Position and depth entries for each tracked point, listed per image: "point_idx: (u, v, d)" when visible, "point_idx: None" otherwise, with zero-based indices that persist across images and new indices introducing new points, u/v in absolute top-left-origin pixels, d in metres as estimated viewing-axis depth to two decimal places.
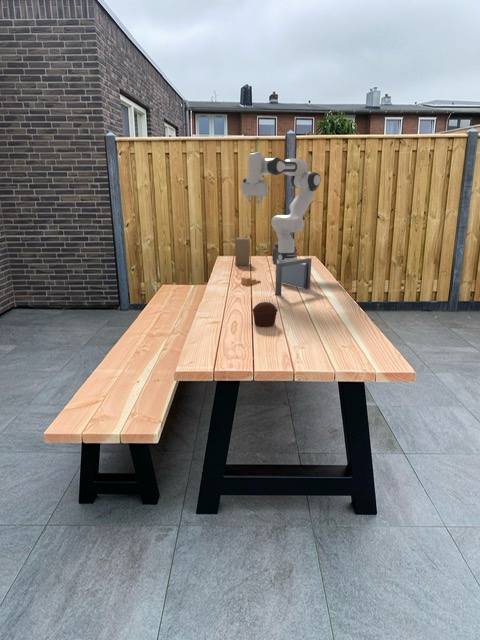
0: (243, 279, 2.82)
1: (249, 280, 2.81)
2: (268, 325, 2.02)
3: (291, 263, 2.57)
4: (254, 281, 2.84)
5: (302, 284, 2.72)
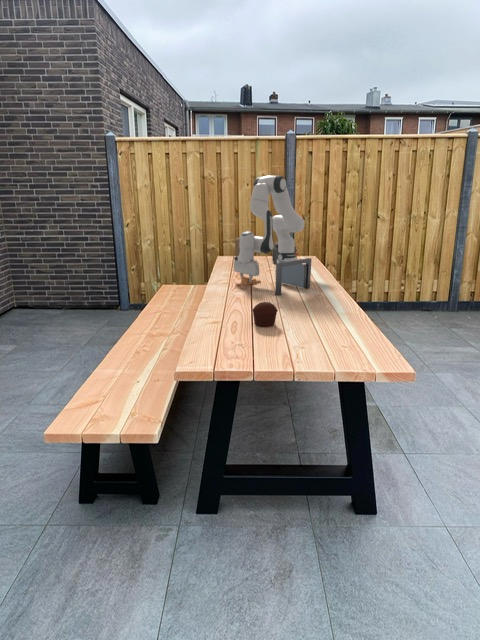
0: (243, 279, 2.82)
1: None
2: (268, 325, 2.02)
3: (291, 263, 2.57)
4: (254, 281, 2.84)
5: (302, 284, 2.72)
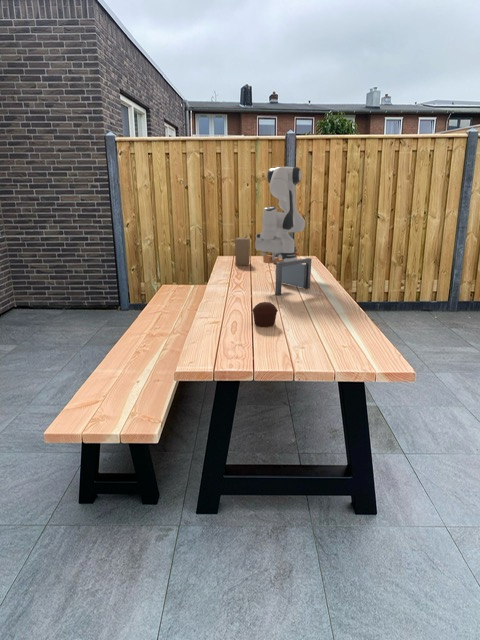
0: (265, 257, 2.68)
1: None
2: (268, 325, 2.02)
3: (291, 263, 2.57)
4: (277, 259, 2.70)
5: (302, 284, 2.72)
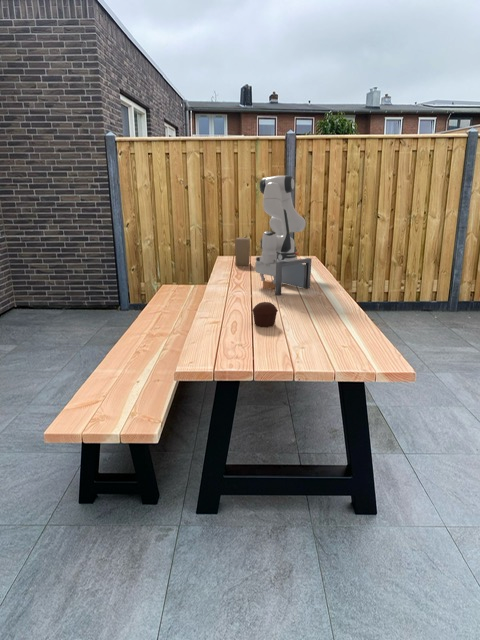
0: (265, 283, 2.72)
1: (271, 284, 2.72)
2: (268, 325, 2.02)
3: (291, 263, 2.57)
4: None
5: (302, 284, 2.72)
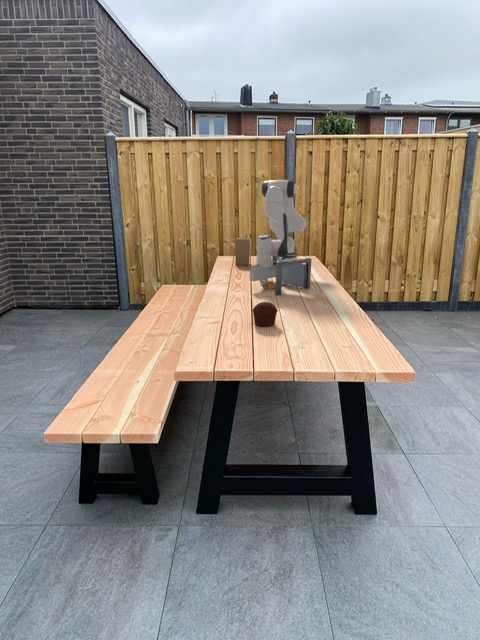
0: None
1: (271, 284, 2.72)
2: (268, 325, 2.02)
3: (291, 263, 2.57)
4: None
5: (302, 284, 2.72)
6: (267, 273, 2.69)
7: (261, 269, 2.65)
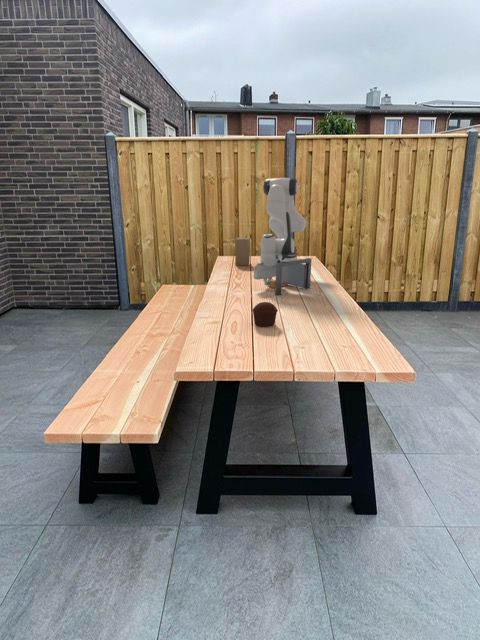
0: (270, 282, 2.75)
1: None
2: (268, 325, 2.02)
3: (291, 263, 2.57)
4: None
5: (302, 284, 2.72)
6: (271, 271, 2.70)
7: (265, 268, 2.66)
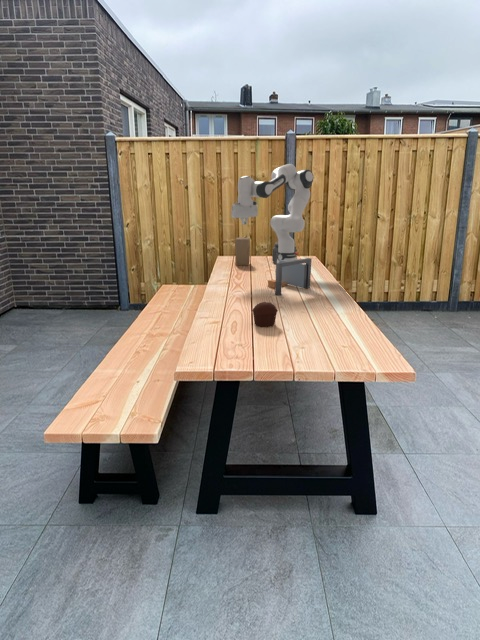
0: (270, 282, 2.75)
1: None
2: (268, 325, 2.02)
3: (291, 263, 2.57)
4: None
5: (302, 284, 2.72)
6: (247, 211, 2.92)
7: (242, 207, 2.88)
